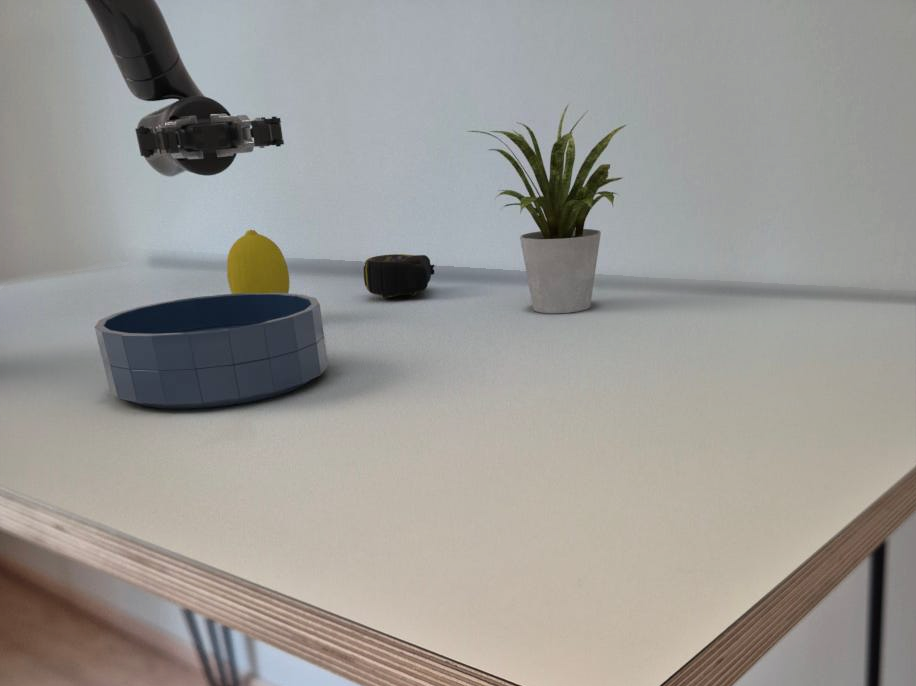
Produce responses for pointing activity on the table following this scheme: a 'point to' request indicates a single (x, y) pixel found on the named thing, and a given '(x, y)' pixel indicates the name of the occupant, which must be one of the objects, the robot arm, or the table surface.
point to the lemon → (256, 266)
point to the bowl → (213, 349)
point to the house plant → (560, 222)
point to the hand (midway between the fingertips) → (218, 136)
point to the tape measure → (397, 274)
